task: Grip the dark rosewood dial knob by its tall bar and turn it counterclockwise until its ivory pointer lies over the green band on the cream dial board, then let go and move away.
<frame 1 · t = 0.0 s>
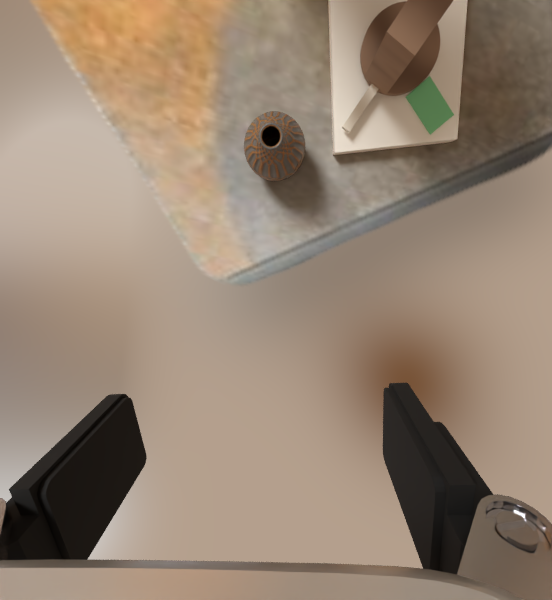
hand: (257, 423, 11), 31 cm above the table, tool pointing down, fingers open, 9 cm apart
vase: (276, 154, 37), on the table
dial knob: (395, 54, 28), point 6 cm above the table, hinge at -40.0°
dial board: (392, 62, 33), on the table
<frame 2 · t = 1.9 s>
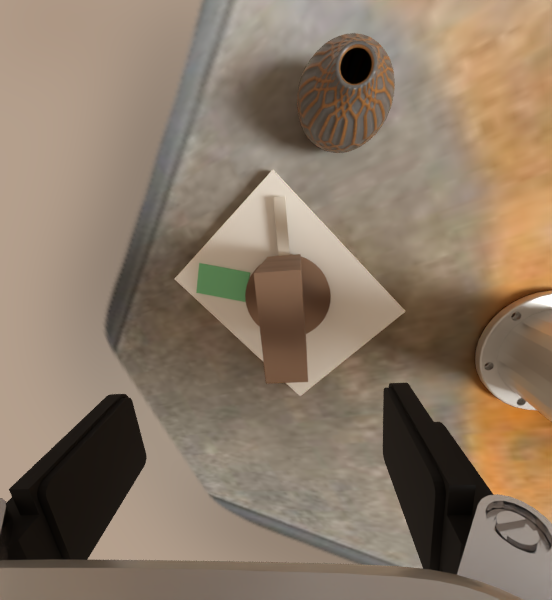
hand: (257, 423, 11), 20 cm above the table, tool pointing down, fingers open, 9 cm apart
vase: (337, 116, 25), on the table
dial knob: (282, 280, 23), point 6 cm above the table, hinge at -40.0°
dial board: (288, 291, 30), on the table
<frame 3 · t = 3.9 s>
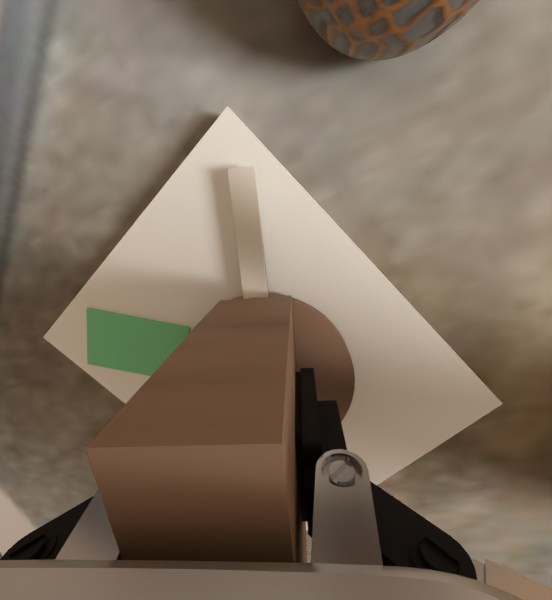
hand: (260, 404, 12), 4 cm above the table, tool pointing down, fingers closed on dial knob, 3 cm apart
dial knob: (244, 376, 9), point 6 cm above the table, hinge at -40.0°, touching gripper
dial board: (269, 355, 16), on the table
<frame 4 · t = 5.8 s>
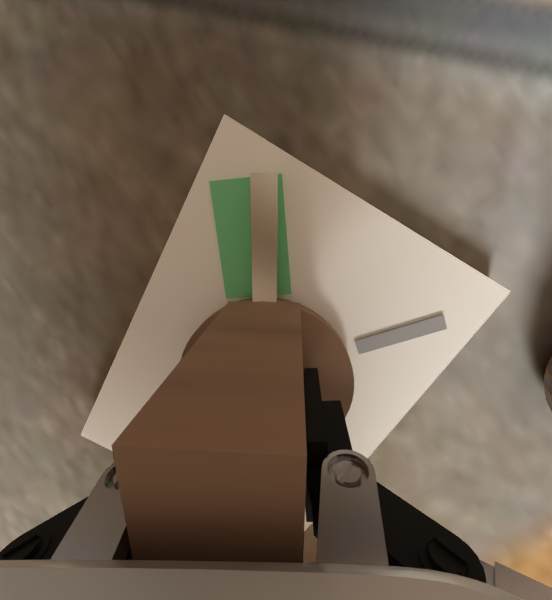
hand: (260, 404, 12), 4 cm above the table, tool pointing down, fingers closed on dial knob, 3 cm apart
dial knob: (252, 380, 9), point 6 cm above the table, hinge at 29.6°, touching gripper
dial board: (270, 358, 16), on the table
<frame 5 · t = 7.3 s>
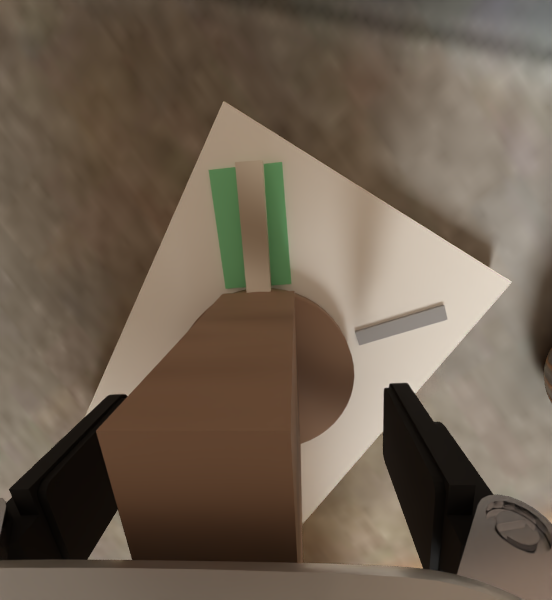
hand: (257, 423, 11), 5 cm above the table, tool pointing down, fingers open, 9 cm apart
dial knob: (247, 369, 9), point 6 cm above the table, hinge at 33.2°
dial board: (269, 350, 16), on the table
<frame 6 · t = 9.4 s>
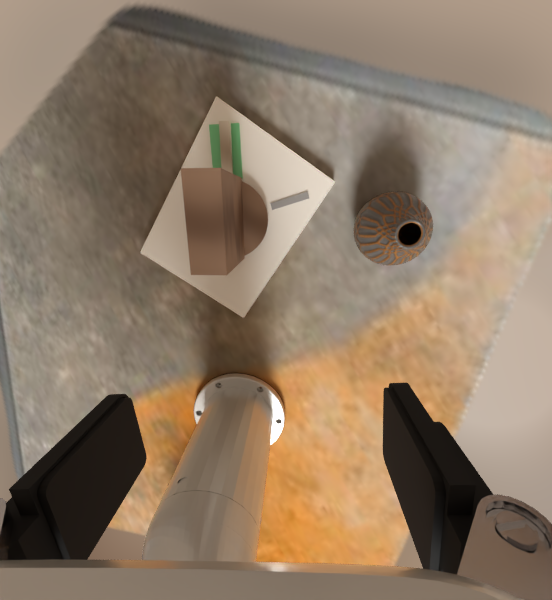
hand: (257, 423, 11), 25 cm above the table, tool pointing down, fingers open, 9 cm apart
vase: (380, 226, 32), on the table
dial knob: (218, 192, 26), point 6 cm above the table, hinge at 33.4°
dial board: (234, 218, 32), on the table
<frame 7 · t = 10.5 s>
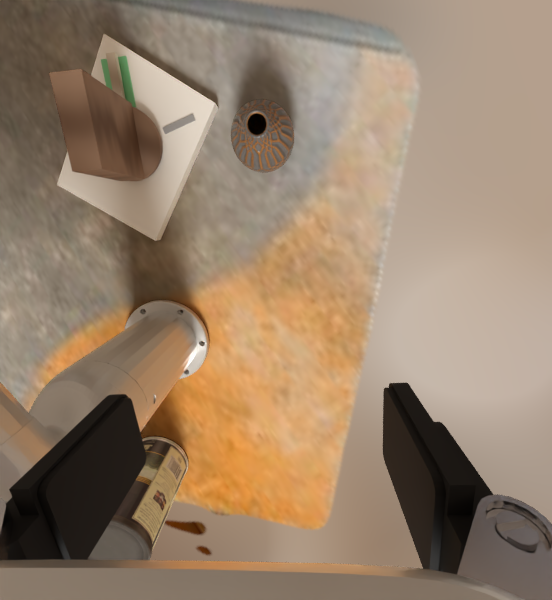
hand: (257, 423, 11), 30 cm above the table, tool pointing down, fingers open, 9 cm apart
coffee can: (160, 459, 51), on the table
vase: (266, 146, 36), on the table
dial knob: (101, 108, 30), point 6 cm above the table, hinge at 33.4°
dial board: (138, 148, 36), on the table
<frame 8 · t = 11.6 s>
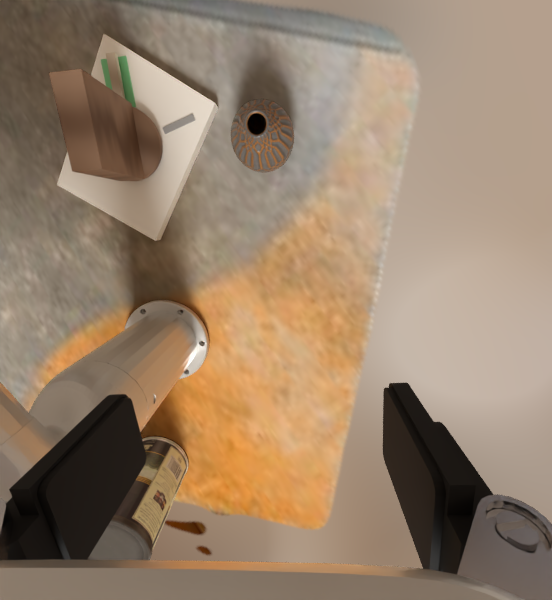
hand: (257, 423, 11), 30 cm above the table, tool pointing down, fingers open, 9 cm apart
coffee can: (160, 459, 51), on the table
vase: (266, 146, 36), on the table
dial knob: (101, 108, 30), point 6 cm above the table, hinge at 33.4°
dial board: (138, 148, 36), on the table
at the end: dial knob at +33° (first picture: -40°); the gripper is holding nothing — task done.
